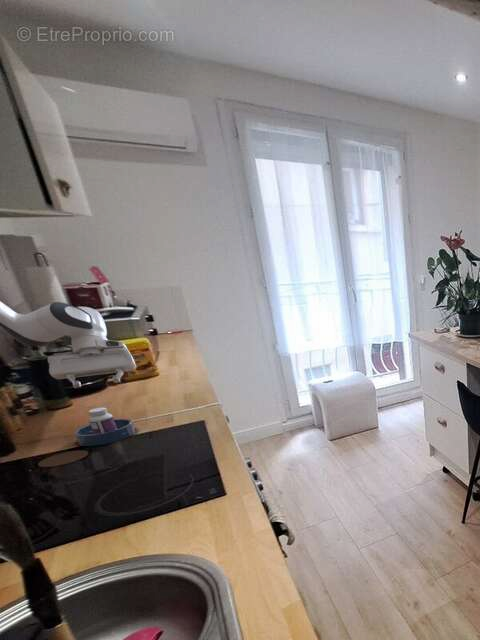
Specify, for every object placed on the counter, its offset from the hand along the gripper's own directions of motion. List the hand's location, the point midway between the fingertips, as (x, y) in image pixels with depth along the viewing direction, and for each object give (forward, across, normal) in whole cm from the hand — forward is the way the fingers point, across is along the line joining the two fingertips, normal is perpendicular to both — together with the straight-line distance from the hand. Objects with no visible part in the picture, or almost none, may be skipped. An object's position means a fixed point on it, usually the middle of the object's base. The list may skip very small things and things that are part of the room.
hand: (97, 384), depth 136 cm
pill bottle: (+19, 0, +2) cm, 19 cm away
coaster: (+28, -8, -6) cm, 30 cm away
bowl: (+19, 0, +3) cm, 19 cm away
